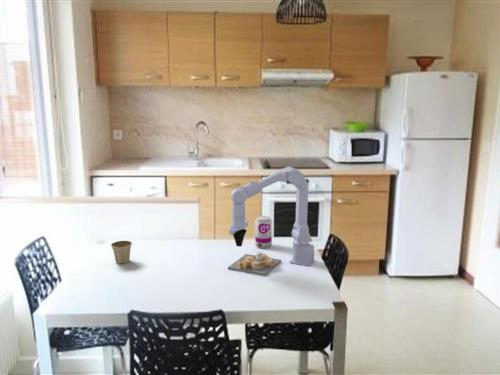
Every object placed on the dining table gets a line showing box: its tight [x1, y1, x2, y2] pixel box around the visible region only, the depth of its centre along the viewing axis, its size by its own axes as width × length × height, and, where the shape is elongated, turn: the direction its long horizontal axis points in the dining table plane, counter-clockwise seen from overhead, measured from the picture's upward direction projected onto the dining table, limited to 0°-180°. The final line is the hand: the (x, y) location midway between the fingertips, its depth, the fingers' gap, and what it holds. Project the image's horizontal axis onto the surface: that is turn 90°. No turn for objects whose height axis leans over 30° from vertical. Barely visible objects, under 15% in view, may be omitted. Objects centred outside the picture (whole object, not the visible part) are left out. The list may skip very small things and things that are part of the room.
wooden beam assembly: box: [236, 253, 274, 270], centre depth 192 cm, size 15×10×2 cm, turn 114°
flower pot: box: [110, 240, 133, 265], centre depth 200 cm, size 9×9×9 cm
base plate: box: [227, 251, 282, 277], centre depth 194 cm, size 18×18×6 cm
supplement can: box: [254, 215, 273, 249], centre depth 218 cm, size 8×8×15 cm
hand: (239, 245), depth 191 cm, fingers closed
